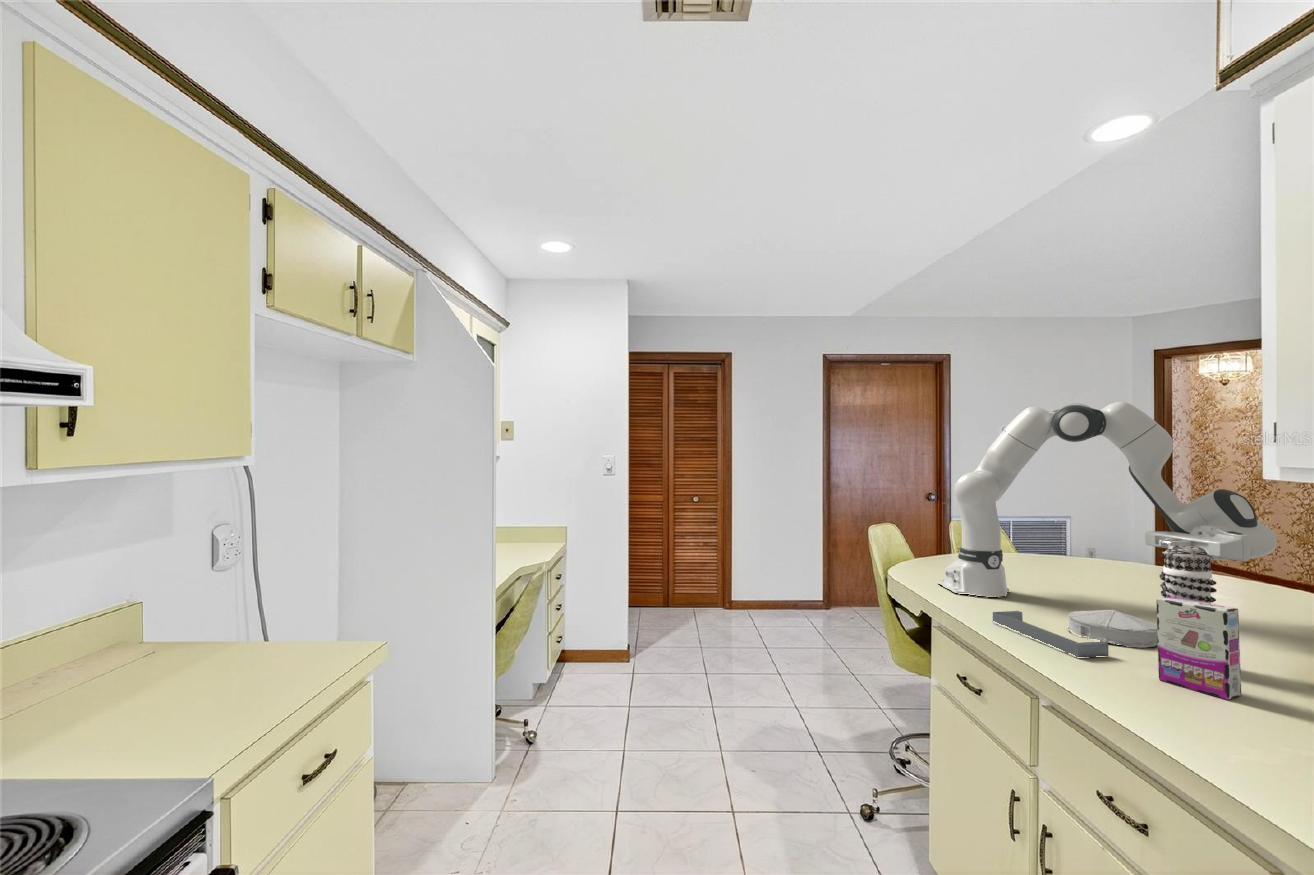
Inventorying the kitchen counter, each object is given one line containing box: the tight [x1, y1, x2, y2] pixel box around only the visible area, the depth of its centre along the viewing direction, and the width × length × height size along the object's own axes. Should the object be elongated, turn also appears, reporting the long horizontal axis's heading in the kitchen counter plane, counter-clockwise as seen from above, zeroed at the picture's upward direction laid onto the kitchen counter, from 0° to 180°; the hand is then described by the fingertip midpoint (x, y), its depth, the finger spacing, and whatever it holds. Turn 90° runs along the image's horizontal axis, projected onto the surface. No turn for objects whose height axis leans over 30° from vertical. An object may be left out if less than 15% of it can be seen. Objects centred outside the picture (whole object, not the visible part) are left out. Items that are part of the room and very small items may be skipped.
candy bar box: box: [1156, 596, 1242, 701], centre depth 115 cm, size 11×5×16 cm, turn 25°
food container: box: [1066, 609, 1158, 649], centre depth 147 cm, size 20×20×7 cm
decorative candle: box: [1158, 546, 1217, 604], centre depth 127 cm, size 9×9×25 cm
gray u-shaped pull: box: [992, 610, 1110, 657], centre depth 145 cm, size 27×8×3 cm, turn 8°
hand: (1164, 544), depth 150 cm, fingers closed
